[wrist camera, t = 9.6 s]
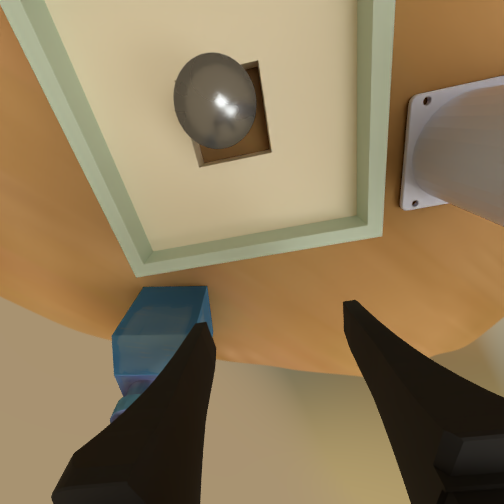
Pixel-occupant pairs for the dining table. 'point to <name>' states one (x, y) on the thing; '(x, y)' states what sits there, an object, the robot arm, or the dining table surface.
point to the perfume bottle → (154, 336)
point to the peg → (214, 100)
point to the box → (188, 151)
